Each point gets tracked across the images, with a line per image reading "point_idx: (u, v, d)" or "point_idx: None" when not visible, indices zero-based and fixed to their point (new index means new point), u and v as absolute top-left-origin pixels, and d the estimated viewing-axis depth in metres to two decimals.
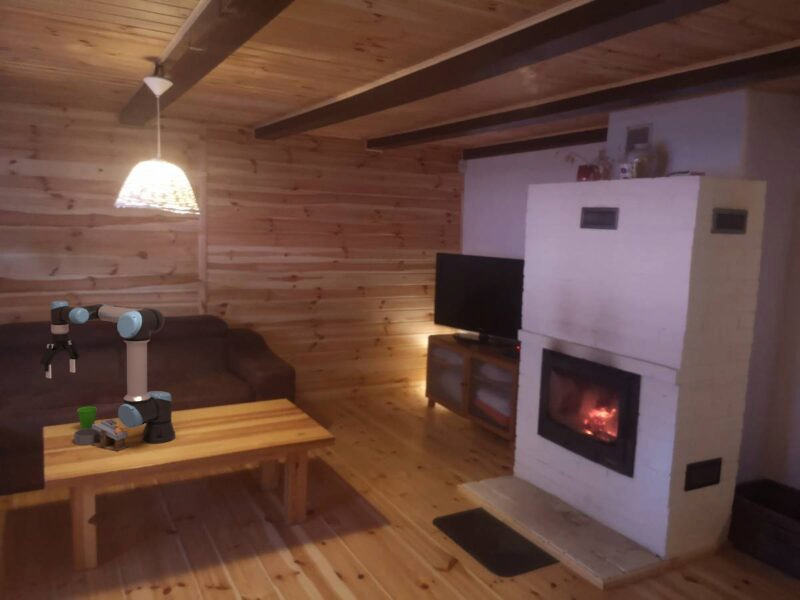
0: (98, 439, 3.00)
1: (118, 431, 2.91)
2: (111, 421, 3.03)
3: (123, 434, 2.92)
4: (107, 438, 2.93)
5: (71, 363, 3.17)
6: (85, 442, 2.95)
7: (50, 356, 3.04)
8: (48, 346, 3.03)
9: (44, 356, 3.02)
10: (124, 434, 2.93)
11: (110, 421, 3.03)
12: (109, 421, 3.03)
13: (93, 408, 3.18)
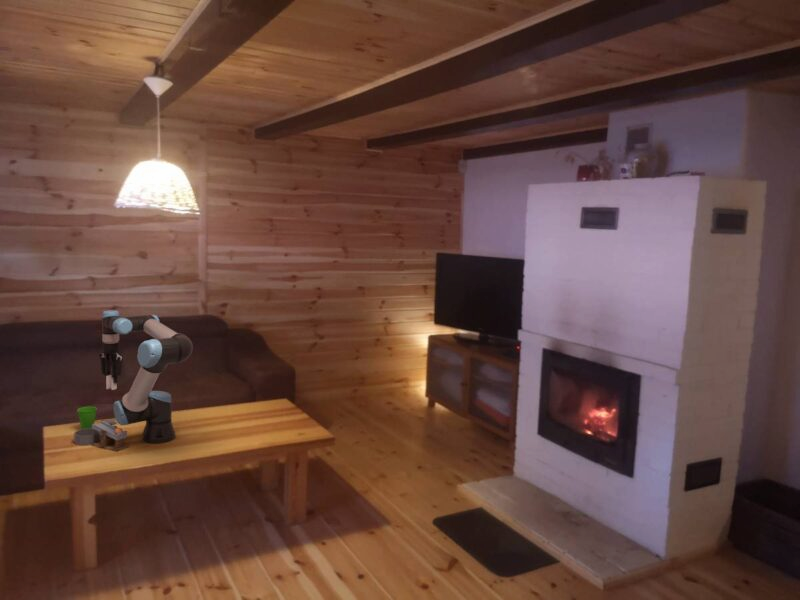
0: (98, 439, 3.00)
1: (118, 431, 2.91)
2: (111, 421, 3.03)
3: (123, 434, 2.92)
4: (107, 438, 2.93)
5: None
6: (85, 442, 2.95)
7: None
8: None
9: None
10: (124, 434, 2.93)
11: (110, 421, 3.03)
12: (109, 421, 3.03)
13: (93, 408, 3.18)
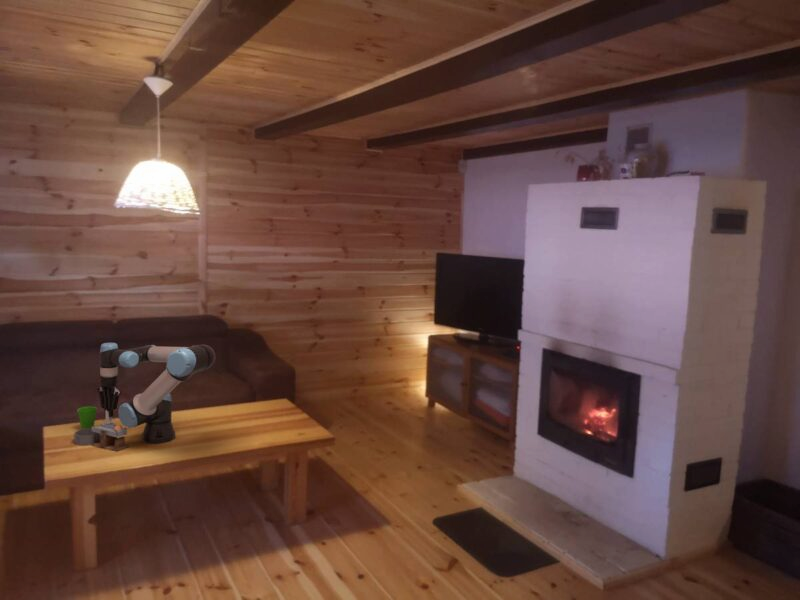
0: (98, 439, 3.00)
1: (117, 428, 2.91)
2: (111, 423, 3.03)
3: (123, 431, 2.92)
4: (107, 438, 2.93)
5: None
6: (85, 442, 2.95)
7: None
8: None
9: None
10: (124, 431, 2.93)
11: (110, 423, 3.03)
12: None
13: (93, 408, 3.18)
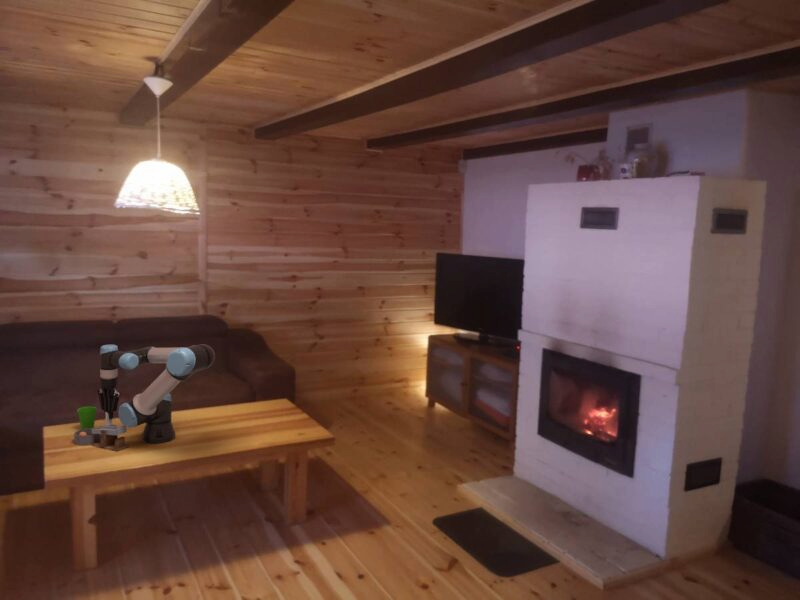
0: (98, 439, 3.00)
1: (81, 434, 3.00)
2: (110, 425, 3.03)
3: (122, 429, 2.92)
4: (107, 438, 2.93)
5: None
6: (85, 442, 2.95)
7: None
8: None
9: None
10: (123, 429, 2.93)
11: (109, 425, 3.03)
12: None
13: (93, 408, 3.18)
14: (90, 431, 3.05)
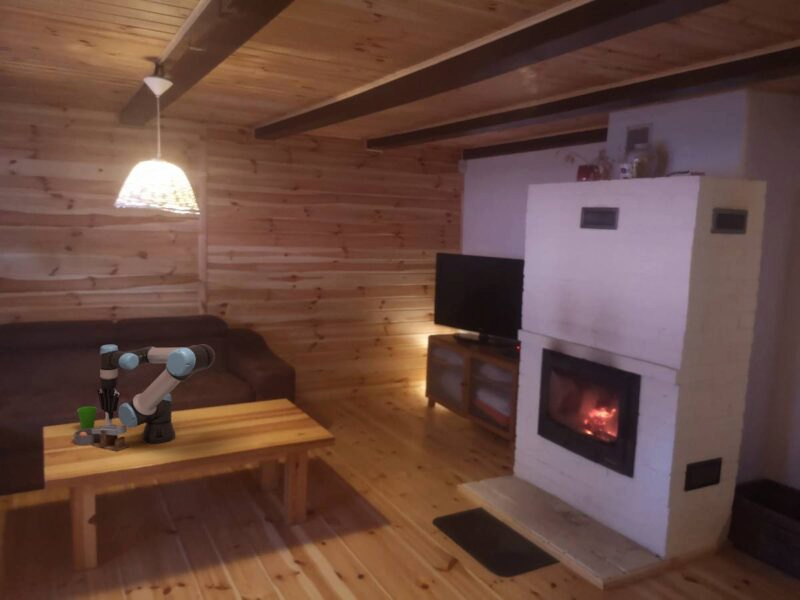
0: (98, 439, 3.00)
1: (82, 434, 3.00)
2: (110, 425, 3.03)
3: (122, 429, 2.92)
4: (107, 438, 2.93)
5: None
6: (85, 442, 2.95)
7: None
8: None
9: None
10: (123, 429, 2.93)
11: (109, 425, 3.03)
12: None
13: (93, 408, 3.18)
14: (90, 431, 3.05)
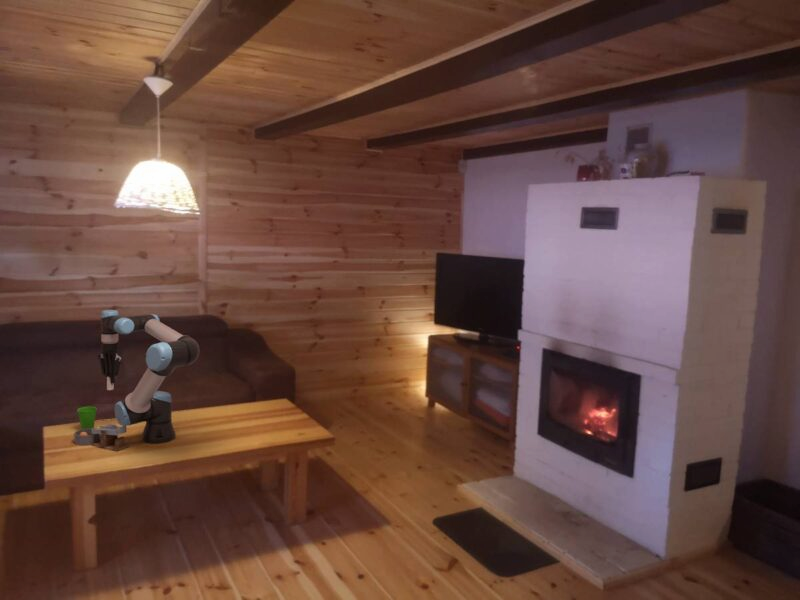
0: (98, 439, 3.00)
1: (82, 434, 3.00)
2: (110, 425, 3.03)
3: (122, 429, 2.92)
4: (107, 438, 2.93)
5: None
6: (85, 442, 2.95)
7: None
8: None
9: None
10: (123, 429, 2.93)
11: (109, 425, 3.03)
12: (108, 425, 3.03)
13: (93, 408, 3.18)
14: (90, 431, 3.05)
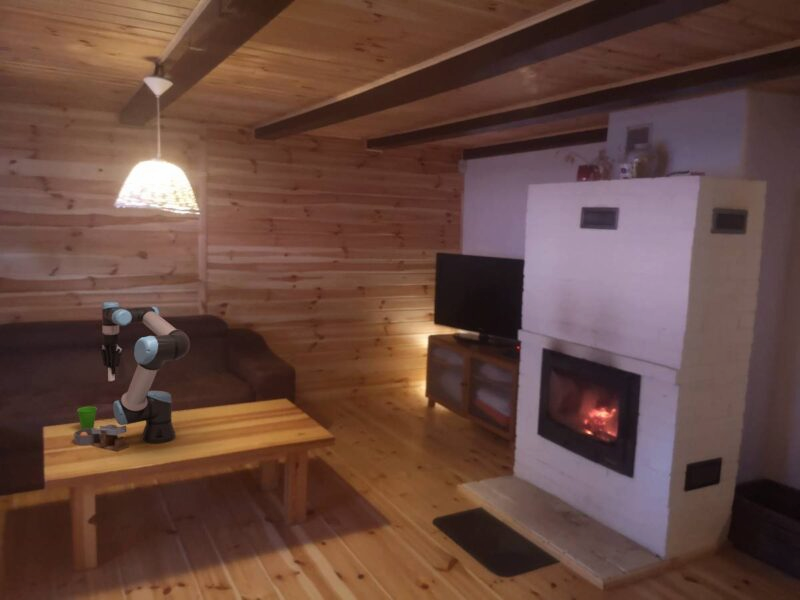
0: (98, 439, 3.00)
1: (83, 434, 3.00)
2: (110, 425, 3.03)
3: (122, 429, 2.92)
4: (107, 438, 2.93)
5: None
6: (85, 442, 2.95)
7: None
8: None
9: None
10: (123, 429, 2.93)
11: (109, 425, 3.03)
12: (108, 425, 3.03)
13: (93, 408, 3.18)
14: (90, 431, 3.05)
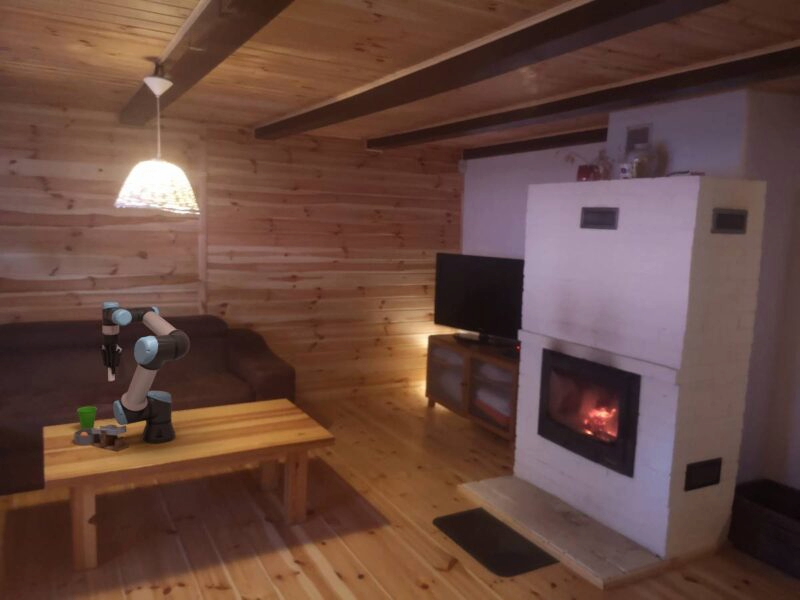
0: (98, 439, 3.00)
1: (83, 435, 3.00)
2: (110, 425, 3.03)
3: (122, 429, 2.92)
4: (107, 438, 2.93)
5: None
6: (85, 442, 2.95)
7: None
8: None
9: None
10: (123, 429, 2.93)
11: (109, 425, 3.03)
12: (108, 425, 3.03)
13: (93, 408, 3.18)
14: (90, 431, 3.05)
